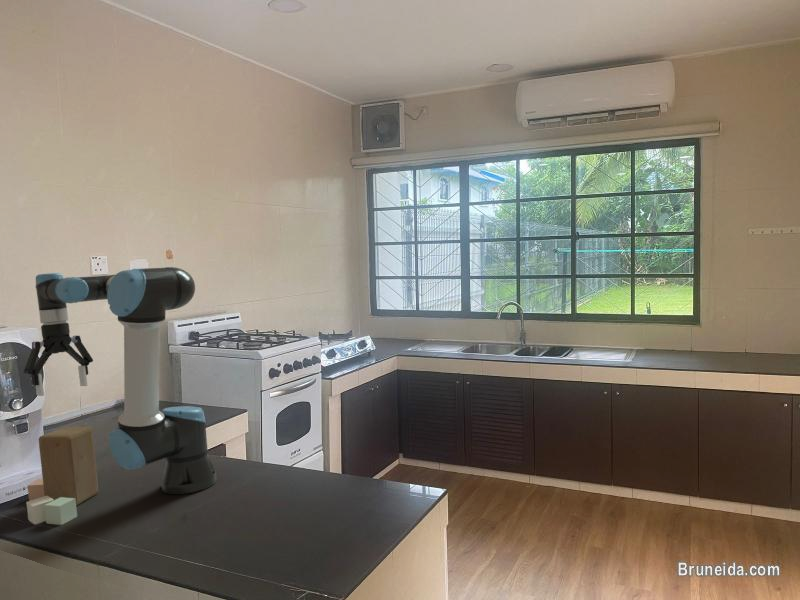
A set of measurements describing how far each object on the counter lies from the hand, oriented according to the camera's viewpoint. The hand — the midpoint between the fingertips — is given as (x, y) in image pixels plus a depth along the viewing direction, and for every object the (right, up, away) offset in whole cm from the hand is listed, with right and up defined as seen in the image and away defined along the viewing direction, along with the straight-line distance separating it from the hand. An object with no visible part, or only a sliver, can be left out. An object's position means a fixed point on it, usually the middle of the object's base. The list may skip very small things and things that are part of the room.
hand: (62, 390), depth 187 cm
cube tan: (+2, -29, -14) cm, 32 cm away
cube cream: (+11, -30, -29) cm, 43 cm away
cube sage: (+17, -29, -30) cm, 45 cm away
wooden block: (+12, -29, -17) cm, 35 cm away
